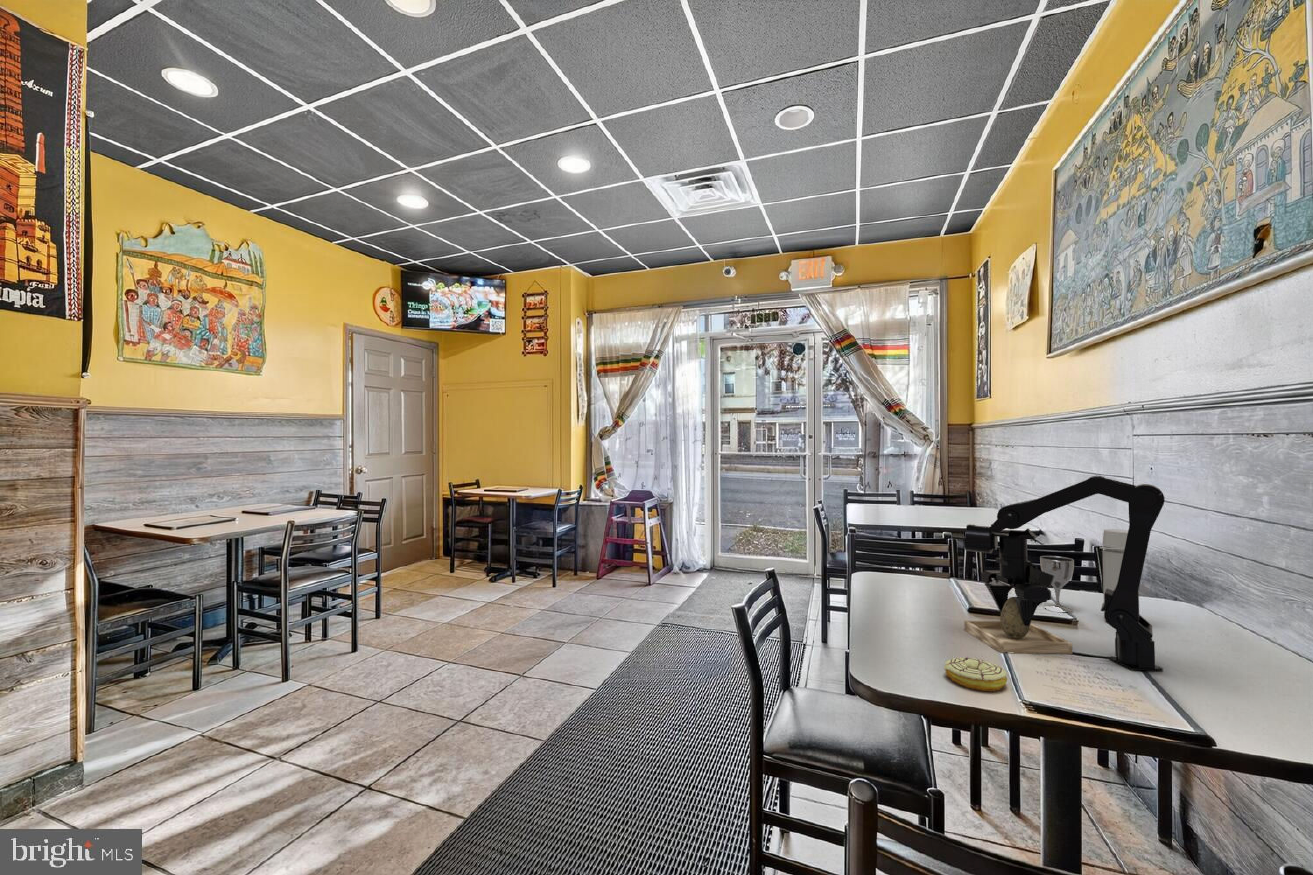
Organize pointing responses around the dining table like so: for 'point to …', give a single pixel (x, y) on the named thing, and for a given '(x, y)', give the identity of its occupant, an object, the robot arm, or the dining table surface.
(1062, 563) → the wine glass
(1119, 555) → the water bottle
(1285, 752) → the dining table surface
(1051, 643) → the wooden tray
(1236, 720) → the dining table surface
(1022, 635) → the decorative egg
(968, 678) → the decorated donut
